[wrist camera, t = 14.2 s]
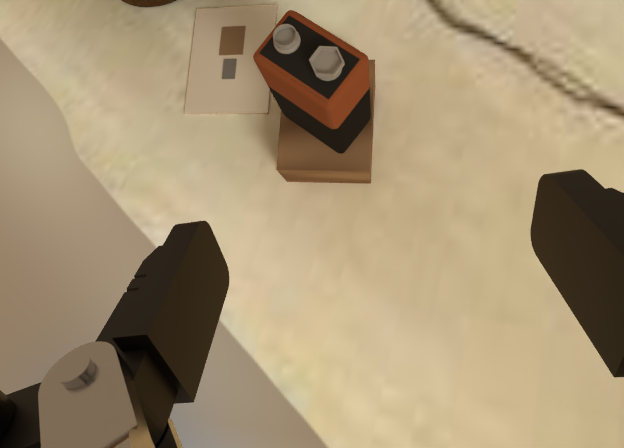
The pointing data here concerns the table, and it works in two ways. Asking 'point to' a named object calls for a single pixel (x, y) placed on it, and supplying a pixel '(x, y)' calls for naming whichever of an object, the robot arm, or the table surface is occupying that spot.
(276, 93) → the battery
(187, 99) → the page
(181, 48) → the table surface
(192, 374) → the robot arm
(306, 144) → the base brick
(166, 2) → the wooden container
